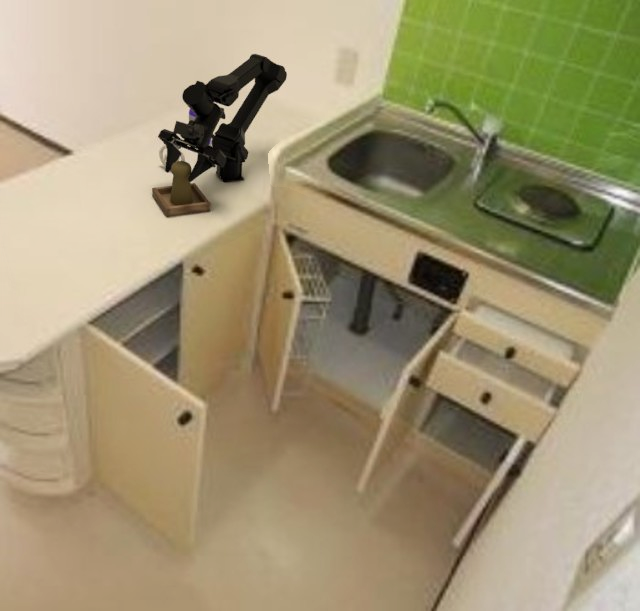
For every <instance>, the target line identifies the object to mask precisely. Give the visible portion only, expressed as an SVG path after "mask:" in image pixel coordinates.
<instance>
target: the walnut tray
mask: <svg viewBox="0 0 640 611" xmlns="http://www.w3.org/2000/svg"><path fill="white" fill-rule="evenodd" d="M190 183H191V191H192V198H193V203H192V204H186V205H179V206H175V205H173V204H172V203H171V202H170V197H171V190H172V185H166V186H159V187H152V188H151V196H152V198H153V200H154V201H155V202H156V204H157V206H158V207H159V208H160V210H161V212H162V213H163V214H164V216H165V218H173V217H181V216H188V215H195V214H202V212H203V213H210V212H211V202H210V201H209V199H208V198H207V197H206V196H205V194H204V193H203V191H202V190H201V189H200V188H199V187H198V185H197V184H196V183H195V182H193V183H192V182H190ZM209 211H210V212H209Z"/></svg>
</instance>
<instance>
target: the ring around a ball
mask: <svg viewBox="0 0 640 611" xmlns="http://www.w3.org/2000/svg"><path fill="white" fill-rule="evenodd" d="M165 149H166V150H167V147H166V145H165V144H164V145H162V146H161V147H160V149H159V152H158V155H159V156H158V157H159V159H160V160H159V161H160V162H161V163H162V165H163V166H164V167H166V159H167V151H166V152H165V153H164V151H165ZM179 151H180V152H181V153H182V154H181V156H180V157H179V159H178V160H177V161H185V162H186V159H185V158H186V157H185V154H184V152H183V151H182V148H180V149H179ZM177 161H176V162H177Z"/></svg>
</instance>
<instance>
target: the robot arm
mask: <svg viewBox="0 0 640 611" xmlns="http://www.w3.org/2000/svg"><path fill="white" fill-rule="evenodd" d="M287 75H288V74H287V71H286V68H285V67H284V66H283V65H280V64H278V63H275V62H274V61H272V60H271V59H270V58H268V57H267V56H264V55H261V54H257V53H251V55H250V56H249V58H248V59H247V60H246V61H244V62H243V63H241V64H240V65H239V66H237V67H236V68H235V69H234V70H233V71H231V72H230V73H228V74H226V75H225V74H224V75H218V76H216V77H214V78H211V79H210V80H208V82H207V83H205V82H203V81H200V80H196V82H195V84H191V85H188V87H187V88H185V89H184V90H183V92H182V95H181V96H182V100H183V102H184V103H185V104H186V105H187V107H188V108H189V110H190V109H191V110H192V111H193V113H194V114H196V115H197V116H196V118H195V119H194V121H193V120H190V121H189V120H188V123H186V122H183V121H178V120H176V121H175V124H174V127H173V131H172V130H169V129H166V128H164V129H161V130H160V131H159V134H158V136H157V138H158V139H159V140H160V141H161V142H162V143H163V144H164V145H166V147H167V148H166V152H167V159H166V161H165V162H166V167H165V166H164V167H165V169H164V172H165V173H167V174H168V173H169V172H170V171H171V167H172V164H173V163H174V162H176V161H177V160H178V159H179V157H180V158H181V154H182V153H181V152H180V151H179V149H182V148H183V149H186V150H187V151H191V152H193V153H195V154H197V158H196V162H195V164H194V166H193V168H192V171H191V173H190V175H189V178H188V181H189V182H190V183H192V182H193V181H194V180H195V179H196V178H198V177H199V176H200V175H202V174H204V173H205V172H207V171H208V170H210V169H212V168H215V169H216V170H215V175H217V176H218V178H220V180H221V181H222V182H224V183H229V182H230V183H231V182H236V181H237V182H238V181H244V180H245V177H244V176H243V163H246V160H247V159H248V156H249V153H250V152H249V151H248V149H247V148H246V147H245V145H246V132H247V131H248V129H249V128H250V126H251V124H252V123H253V121H254V119H255V118H256V116H257V114H258V113H259V111H260V109H261V108H262V107H263V105H264V103H265V102H266V100H267V99H268V96H270V95H271V94H274V93H275V92H278V91H279V90H280V88H281V87H282V86H283V84H284V83H285V82H286V80H287V77H288V76H287ZM253 80H254V84H253V86H252V88H251V89H250V91H249V92H248V94H247V95H246V97H245V99H244V101H243V102H242V103H241V105H240V106H239V108H238V110H237V112H236V113H235V115H234V117H233V118H232V120H231V121H230V122H229V123H225V122H221V123H220V125H219V126H218V124H219V122H220V121H221V119H222V120H226V113H225V108H223V107H220V106H219V104H220V105H222V106H224V107H230V106H232V105H234V103H235V102H236V100H238V98H239V94H240V91H241V90H243V88H244V87H246V86H247V85H248V84H249V83H251V82H252V81H253ZM217 126H218V129H217V130H216V128H217ZM215 130H216V131H215ZM178 135H179V136H178ZM180 137H181V138H180ZM210 138H211V145H210V144H208V142H209V140H210ZM179 160H180V159H179Z"/></svg>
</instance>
